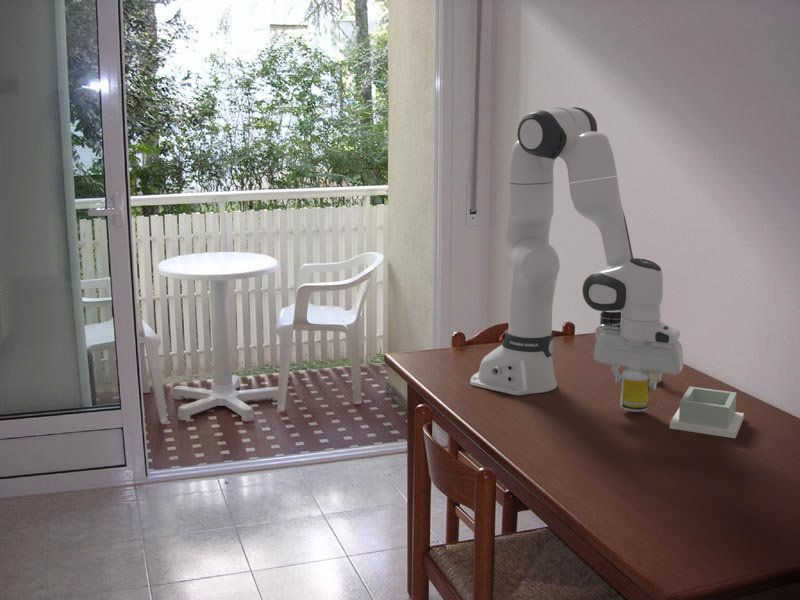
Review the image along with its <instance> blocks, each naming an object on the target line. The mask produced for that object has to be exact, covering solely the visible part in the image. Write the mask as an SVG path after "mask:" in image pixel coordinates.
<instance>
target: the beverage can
mask: <svg viewBox="0 0 800 600" xmlns="http://www.w3.org/2000/svg"><path fill="white" fill-rule="evenodd" d="M599 317H600V318H599V326H602V325H603V324H606V325H610V326H621V312H620V311H618V310H616V311H600V315H599ZM601 328H602V327H601Z"/></svg>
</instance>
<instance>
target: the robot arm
mask: <svg viewBox="0 0 800 600" xmlns="http://www.w3.org/2000/svg"><path fill="white" fill-rule="evenodd" d="M614 156H615V155H614V154H613V151H612V147H611V143H610V140H609V139H608V137H607V136H606V135H605V134H604V133H601V132H599V131H598V123H597V120H596V118H595V116H594V115H593V114H592V113H591V112H590V111H588V110H587V109H584V108H581V107H576V106H575V107H573V106H572V107H568V106H567V107H566V106H564V107H559V106H557V107H554V108H549V109H544V110H543V109H538V110H535V111H532V112H530V113H528V114H527V115H525V116H523V118H522V119H521V121H520V122H519V124H518V128H517V140H516V141H515V142H514V144H512V147H511V152H510V159H509V167H508V219H507V227H506V228H507V229H506V238H505V251H504V253H505V261H506V264H507V266H508V268H509V269H510V270H511V271H512V287H511V293H510V298H509V302H508V328H507V329H506V330H504V332H503V333H502V334H501V335H500V336H499V342H501V345H499V346H498V347H496V348H495V349H493V350H492V351H490V352H489V353H488V354H486V355H484V357H483V358H482V360H481V362H480V366H479V369H478V370H479V371H477V372H476V373H474V374H473V375H472V376H471V377H470V379H469V380H470V381H469V383H470V385H471V386H475V387H478V388H481V389H482V388H483V389H487V390H491V391H496V392H500V393H504V394H510V395H514V396H524V395H530V394H540V393H541V394H542V393H546V392H551V391H553V390H555V389H556V388H557V387H558V384H557V380H556V375H555V371H554V363H553V353H554V349H555V347H554V346H555V341H554V333H553V332H552V331H553V329H552V328H553V305H554V303H553V302H554V296H555V291H556V285H557V282H558V281H557V278H558V275H559V271H560V267H561V266H560V260H559V259H560V258H559V256H558V253H557V250H555V249H554V247H553V245H550V241H549V238H550V236H549V235H550V230H551V223H552V218H553V216H554V165H555V161H556V160H557V159H558V158H559V159H561V160H563V162H564V163H565V165H566V169H567V175H568V177H567V178H568V183H569V186H568V187H569V193H570V194H569V195H570V199H571V201H572V204H573V206H574V209H575V211H576V212H577V213H578V214H579V215H581V216H582V217H584V218H586V219H588V220H589V221H591V222H592V223H593V224H594V225H595V226H596V227H597V228H598V230H599V232H600V235H601V239H602V244H603V250H604V254H605V260H606V265H605V268H604V269H601V270H598V271H595V272H593V273H592V274H590V275H588V276H587V277H586V278H585V279H584V282H583V285H582V297H583V300H584V301H585V303H586V304H587V306H589V307H590V308H591V309H593V310H595V311H598V312H602V311H616V310H618V311H620V312H621V326H610V325H606V324H603V325H602V326H600V325H598V326H597V327H596V329H595V332H594V333H595V334H594V339H595V341H596V342H595V346H594V349H593V350H594V351H593V359H594V361H595V362H596V363H597V364H604V365H610V370H611V372H612V374H613V376H614V384H619V385H621V379H622V374H620V372H619V368H620V367H623V368H627V367H628V362H632V363H639V364H642V366H641V367H642V369H641V370H647V371H653V372H654V376H657V377H656V378H655V380H654V381H653V380H650V381H649V386H648V389H649V390H653V391H656V389H657V384H658V383H657V381H658V380H659V378H660V377H661V378H662V375H663V374H667V375H672V376H673V375H674V376H677V375H678V374H680V372H682V370H683V366H684V362H683V361H684V353H683V351H684V350H683V346H682V343H681V342H680V341H679V339H680V337H681V331H680V330H679V329H677V328H675V327H673V326H671V325H669V324H666V323H664V322H662V321H661V318H662V316H661V311H660V310H661V309H660V308H661V304H662V302H663V296H664V295H663V292H664V291H663V290H664V278H663V270H662V268H661V267H660V265H659V264H657V263H656V262H654V261H652V260H650V259H646V258H638V257H637V258H634V255H633V250H632V245H631V238H630V234H629V230H628V229H629V228H628V226H627V225H628V223H627V220H626V219H627V218H626V216H625V212H624V209H623V205H622V201H621V195H620V188H619V180H618V173H617V166H616V161H615V157H614ZM601 327H602V328H601Z"/></svg>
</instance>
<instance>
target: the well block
mask: <svg viewBox="0 0 800 600" xmlns="http://www.w3.org/2000/svg"><path fill="white" fill-rule="evenodd" d="M737 394H738V393H737V392H735V391H727V390H719V389H713V388H704V387H696V386H689V387H688V388H687V389H686V392H685V393H684V395H683V396H682V398H681V399H680V401H679V407H678V409H677V411H676V412H675V413H674V415H673V417H672V418H671V419H670V422H669V429H672V430H676V431H677V430H678V431H679V430H680V431H684V432H691V433H692V432H693V433H697V434H705V435H711V436H717V437H723V438H724V437H725V438H732V439H736V437H737V435H738V433H739V430H740V428H741V426H742V423H743V421H744V415H745V413H744V412H739V411H736V408H737Z"/></svg>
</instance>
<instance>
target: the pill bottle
mask: <svg viewBox="0 0 800 600" xmlns="http://www.w3.org/2000/svg"><path fill="white" fill-rule="evenodd" d="M641 366H642V364H639V363H632V362H628V367H626V369H623V371H622V372H621V375H622V379H621V384H620V386H621V387H620V398H619V399H620V400H619V406H620V407H621V408H622V409H623V410H625V411H628V412H635V413H636V412H637V413H638V412H639V413H641V412H644V411H646V410H647V409H648V408H649V398H650V397H649V396H650V389H648V386H649V381H650V374H649V373H648V372H647V371H646V370H641V369H642V367H641Z"/></svg>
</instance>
